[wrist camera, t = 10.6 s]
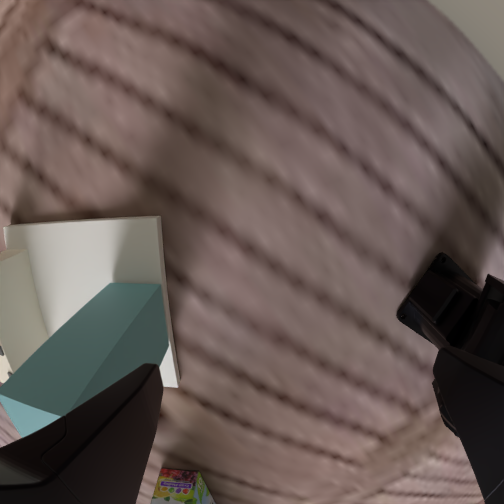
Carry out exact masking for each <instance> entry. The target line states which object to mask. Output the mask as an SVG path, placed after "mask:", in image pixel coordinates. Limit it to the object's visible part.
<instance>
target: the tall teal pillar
mask: <svg viewBox="0 0 504 504" xmlns="http://www.w3.org/2000/svg"><path fill="white" fill-rule="evenodd" d="M168 347H169V341H168V334H167V328H166V321H165V314H164V306H163V298H162V290H161V284H137V283H109V284H108V285H107V286H106V287H105V288H103V289H102V290H101V291H100V292H99V293H98V294H97V295H95V296H94V297H93V298H92V299H91V300H90V301H89V302H88V303H86V304H85V305H84V306H83V307H82V308H81V309H80V310H79V311H78V312H76V313H75V314H74V315H73V316H72V317H71V318H70V319H69V320H68V321H67V322H66V323H65V324H63V325H62V326H61V327H60V328H59V329H58V330H57V331H56V332H55V333H54V334H53V335H52V336H51V337H50V338H49V339H48V340H47V341H46V342H44V343H43V344H42V345H41V346H40V347H39V348H38V349H37V350H36V351H35V352H34V353H33V354H32V355H31V356H30V357H29V358H28V359H27V360H26V361H25V362H24V363H23V364H22V365H21V366H20V367H19V368H18V369H17V370H16V371H15V372H14V373H13V374H12V375H11V377H10V378H9V379H8V380H7V381H6V382H5V383H4V384H3V385H2V386H1V387H0V401H1V403H2V405H3V407H4V409H5V410H6V412H7V414H8V416H9V417H10V419H11V421H12V422H13V424H14V426H15V427H16V429H17V430H18V432H19V434H20V435H21V437H22V438H23V437H25V436H27V435H29V434H31V433H33V432H35V431H37V430H39V429H41V428H43V427H45V426H47V425H48V424H50V423H52V422H53V421H55V420H57V419H58V418H60V417H62V416H63V415H65V416H66V414H67V413H68V412H70V411H71V410H73V409H75V408H76V407H78V406H79V405H81V404H82V403H84V402H86V401H87V400H89V399H90V398H92V397H93V396H95V395H97V394H98V393H100V392H101V391H103V390H104V389H106V388H107V387H109V386H110V385H112V384H113V383H115V382H117V381H118V380H120V379H121V378H123V377H124V376H126V375H127V374H129V373H130V372H132V371H133V370H135V369H136V368H138V367H139V366H141V365H142V364H144V363H154V364H157V365H158V366H159V367H160V365H161V363H162V361H163V358H164V356H165V354H166V352H167V350H168Z"/></svg>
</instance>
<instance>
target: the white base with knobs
mask: <svg viewBox="0 0 504 504" xmlns="http://www.w3.org/2000/svg"><path fill="white" fill-rule="evenodd" d="M3 229H4V236H5V243H6V249H7V250H4V251H2V252H0V382H2V383H5V382H6V381H7V380H8V379H9V378H10V377H11V375H12V374H13V373H14V372H15V371H16V370H17V369H18V368H19V367H20V366H21V365H22V364H23V363H24V362H25V361H26V360H27V359H28V358H29V357H30V356H31V355H32V354H33V353H34V352H35V351H36V350H37V349H38V348H39V347H40V346H41V345H42V344H43V343H44V342H46V341H47V340H48V339H49V338H50V337H51V336H52V335H53V334H54V333H55V332H56V331H57V330H58V329H59V328H60V327H61V326H62V325H63V324H65V323H66V322H67V321H68V320H69V319H70V318H71V317H72V316H73V315H74V314H75V313H76V312H78V311H79V310H80V309H81V308H82V307H83V306H84V305H85V304H86V303H88V302H89V301H90V300H91V299H92V298H93V297H94V296H95V295H97V294H98V293H99V292H100V291H101V290H102V289H103V288H105V287H106V286H107V285H108V284H109V283H137V284H161V290H162V298H163V306H164V314H165V321H166V328H167V334H168V341H169V347H168V350H167V352H166V354H165V356H164V358H163V361H162V363H161V365H160V367H159V368H160V373H161V377H162V382H163V386H165V387H177V388H178V386H179V383H180V375H179V370H178V364H177V358H176V351H175V345H174V338H173V331H172V324H171V317H170V309H169V301H168V292H167V283H166V273H165V263H164V251H163V239H162V225H161V216H140V217H118V218H99V219H82V220H67V221H53V222H39V223H27V224H16V225H9V226H6V227H3Z"/></svg>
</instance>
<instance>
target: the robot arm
mask: <svg viewBox="0 0 504 504" xmlns="http://www.w3.org/2000/svg"><path fill="white" fill-rule="evenodd" d="M442 258H443V261H441V259H442ZM485 282H486V283H485V286H484V288H483V289H482V288H481V287H479V286H478V285H476V284H475V283H474V282H473V281H472V280H471V279H470V278H469V277H468V276H467V275H466V274H465V273H464V271H463V270H462V269H461V268H460V267H459V266H458V265H457V264H456V263H455V262H454V261H453V260H452V259H451V258H450V257H449V256H448V255H446V254H444V253H439V254H438V255H437V257H436V259H435V260H434V262H433V263H432V265H431V266H430V268H429V269H428V271H427V272H426V273H425V275H424V276H423V278H422V279H421V281H420V282H419V283H418V285H417V286H416V288H415V289H414V290H413V292H412V293H411V295H410V296H409V298H408V299H407V300H406V302H405V303H404V304H403V306H402V307H401V308H400V310H399V311H398V312H397V315H396V316H397V319H398V320H399V321H400V322H402V323H403V324H405V325H406V326H408V327H409V328H410V329H412V330H413V331H415V332H416V333H418V334H419V335H421V336H422V337H424V338H425V339H427V340H428V341H429V342H431V343H432V344H434V345H435V346H436V347H437V348H438V349H439V351H438V354H437V357H436V360H435V363H434V367H433V374H434V377H435V379H434V381H433V382H432V385H433V388H434V392H435V395H436V399H437V402H438V406H439V411H440V414H441V417H442V420H443V422H444V424H445V426H446V427H448V428H449V429H450V430H451V431H452V432H453V433H454V434H455V436H457V437H459V438H460V440H461V442H462V444H463V447H464V449H465V452H466V454H467V456H468V459H469V461H470V464H471V466H472V469H473V471H474V474H475V476H476V479H477V482H478V484H479V487H480V490H481V493H482V496H483V498H484V500H485V501H484V502H485V504H504V281H503V280H501V279H498V278H496V277H494V276H492V275H490V274H488V275H487V277H486V280H485ZM402 314H404V316H403V317H401V316H402ZM162 396H163V382H162V377H161V373H160V368H159V366H158V365H157V364H154V363H144V364H142V365H141V366H139V367H138V368H136V369H135V370H133V371H132V372H130V373H129V374H127V375H126V376H124V377H123V378H121V379H120V380H118V381H117V382H115V383H113V384H112V385H110V386H109V387H107V388H106V389H104V390H103V391H101V392H100V393H98V394H97V395H95V396H93V397H92V398H90V399H89V400H87V401H86V402H84V403H82V404H81V405H79V406H78V407H76V408H75V409H73V410H71V411H70V412H68V413H67V414H66V416H65V415H63V416H62V417H60V418H58V419H57V420H55V421H53V422H52V423H50V424H48V425H47V426H45V427H43V428H41V429H39V430H37V431H35V432H33V433H31V434H29V435H27V436H25V437H23V438H21V439H19V440H17V441H14V442H12V443H10V444H8V445H6V446H3V447H1V448H0V504H136V500H137V497H138V493H139V489H140V486H141V482H142V479H143V475H144V472H145V468H146V465H147V462H148V458H149V455H150V451H151V448H152V445H153V441H154V438H155V434H156V430H157V425H158V419H159V413H160V407H161V401H162Z"/></svg>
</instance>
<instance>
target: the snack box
mask: <svg viewBox="0 0 504 504" xmlns="http://www.w3.org/2000/svg"><path fill="white" fill-rule="evenodd" d="M151 504H215V502H214V500H213V498H212V496H211V494H210V492H209V490H208V488H207V486H206V484H205V482H204V481H203V479H202V476H201V474H200V472H199V471H197V472H194V471H182V470H173V469H164V468H162V469H161V471H160V474H159V477H158V480H157V484H156V487H155V490H154V494H153V497H152V500H151Z"/></svg>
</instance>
